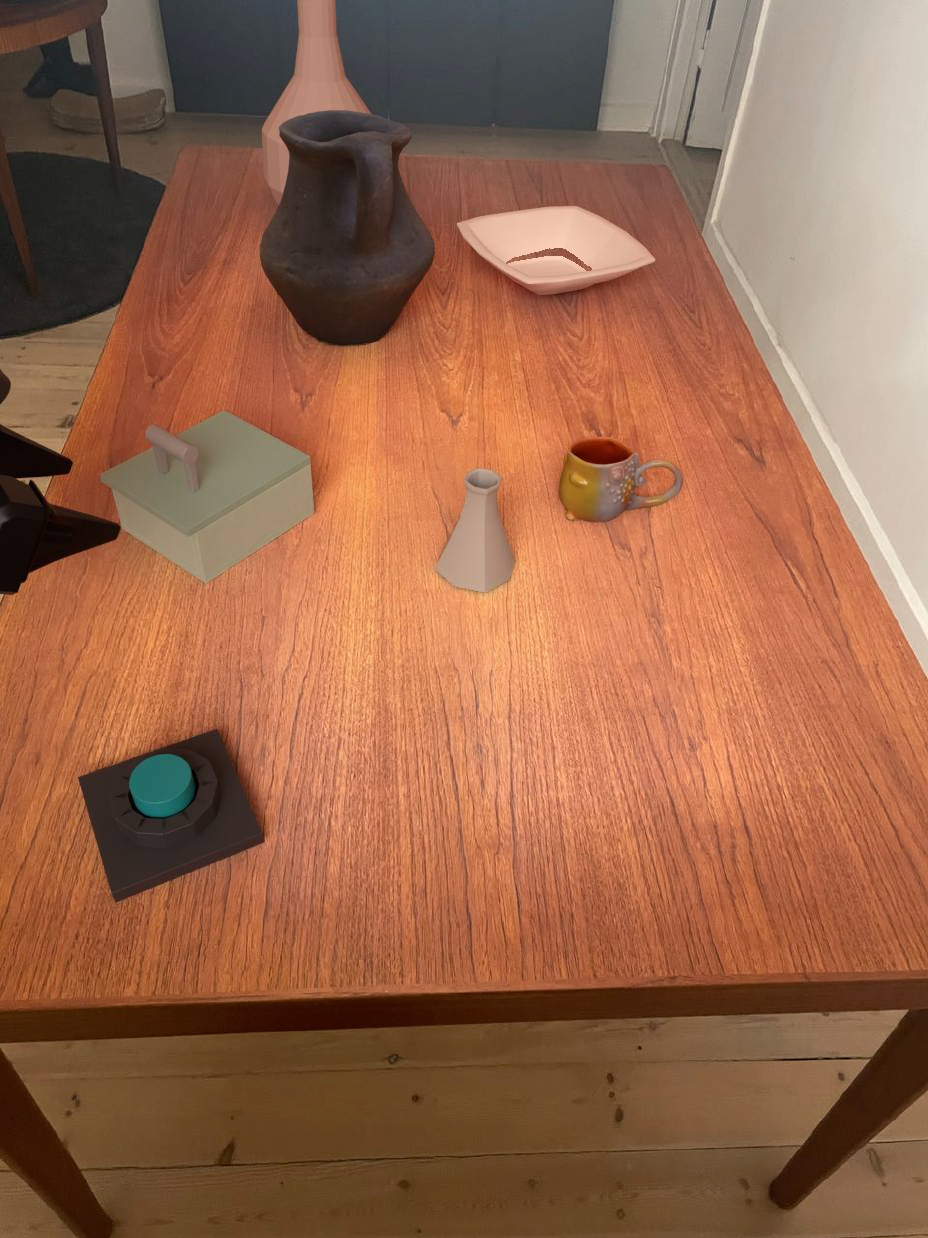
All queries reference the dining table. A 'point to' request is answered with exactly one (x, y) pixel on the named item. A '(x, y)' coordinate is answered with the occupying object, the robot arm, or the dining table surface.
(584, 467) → the mug
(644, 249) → the bowl
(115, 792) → the panel
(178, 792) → the button
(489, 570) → the flask
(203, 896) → the dining table surface
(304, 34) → the vase
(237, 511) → the gray-green storage box
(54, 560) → the robot arm
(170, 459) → the lid
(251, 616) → the dining table surface
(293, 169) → the pitcher
